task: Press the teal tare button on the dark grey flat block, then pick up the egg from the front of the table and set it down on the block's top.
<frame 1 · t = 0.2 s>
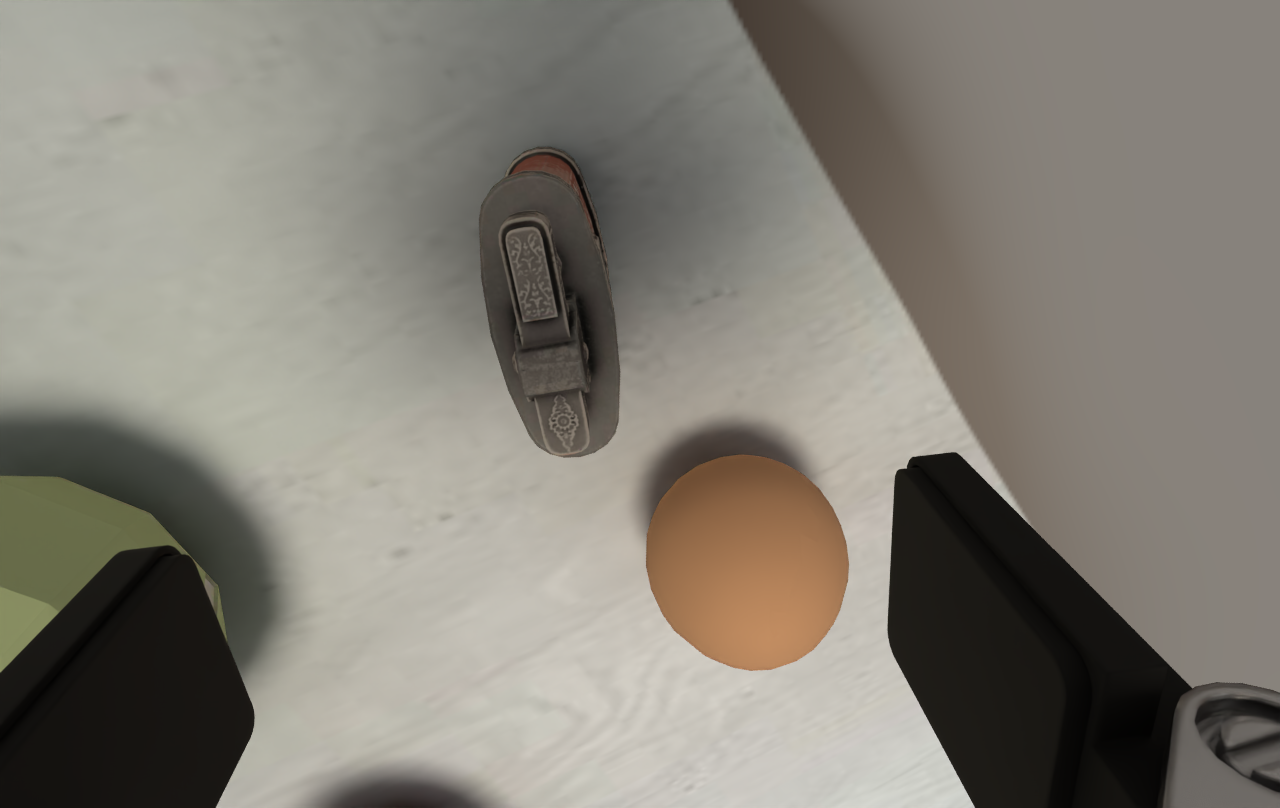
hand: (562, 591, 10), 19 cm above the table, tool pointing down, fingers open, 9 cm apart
decorative sphere: (101, 568, 31), on the table
lighter: (560, 262, 27), on the table
egg: (725, 497, 32), on the table
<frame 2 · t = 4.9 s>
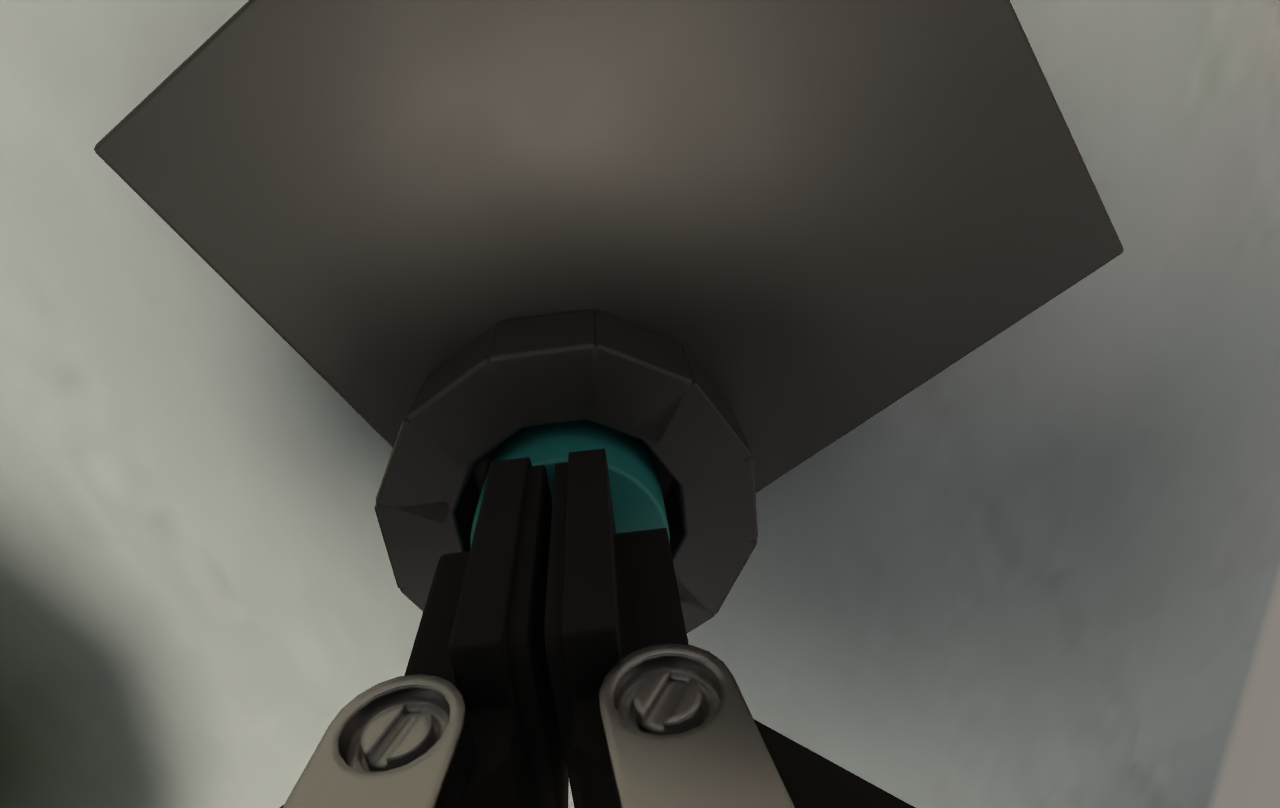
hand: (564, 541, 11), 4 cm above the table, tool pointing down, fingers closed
dark grey flat block: (639, 193, 13), on the table
tare button: (571, 516, 12), point 3 cm above the table, slide at -0.6 cm, touching gripper
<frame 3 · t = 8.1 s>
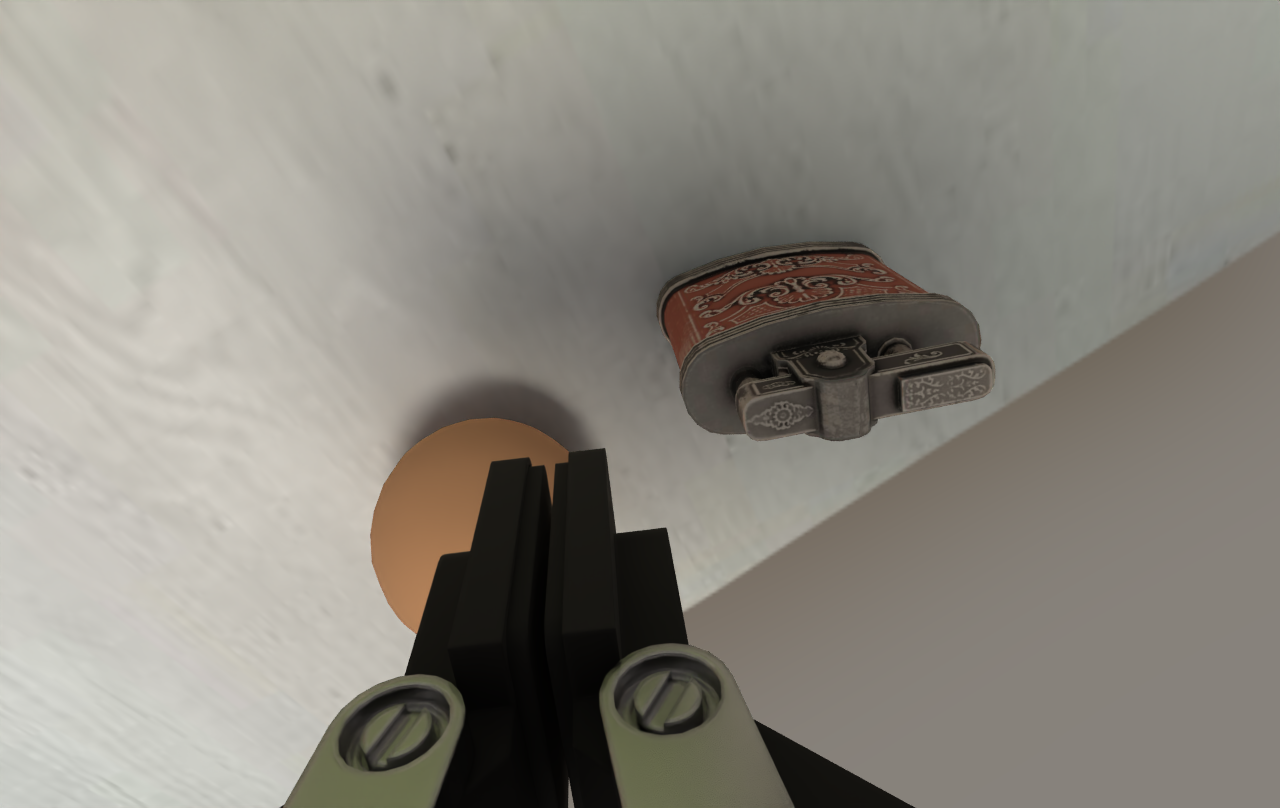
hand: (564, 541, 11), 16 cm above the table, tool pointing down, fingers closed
lighter: (766, 292, 27), on the table
egg: (500, 469, 29), on the table
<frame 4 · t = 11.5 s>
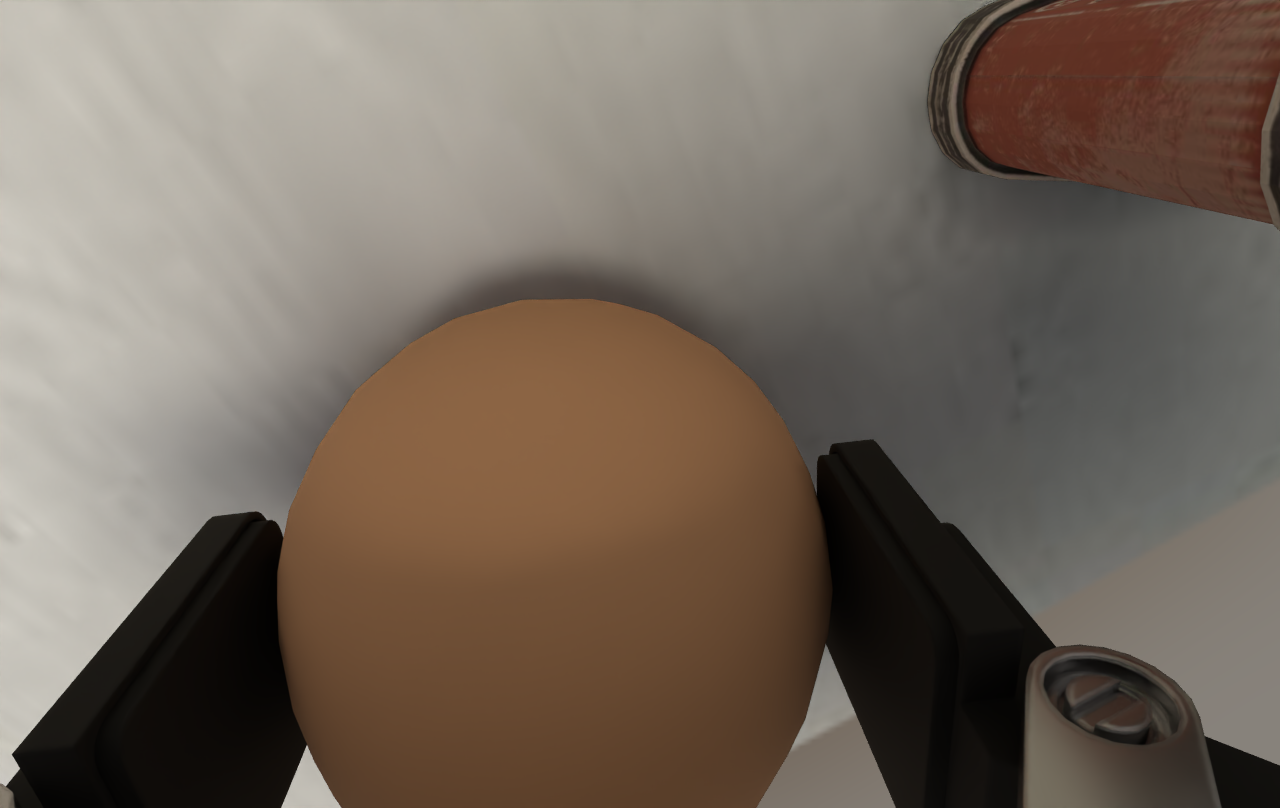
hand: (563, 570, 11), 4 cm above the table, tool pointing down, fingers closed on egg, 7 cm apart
lighter: (1158, 61, 13), on the table
egg: (568, 432, 15), on the table, touching gripper
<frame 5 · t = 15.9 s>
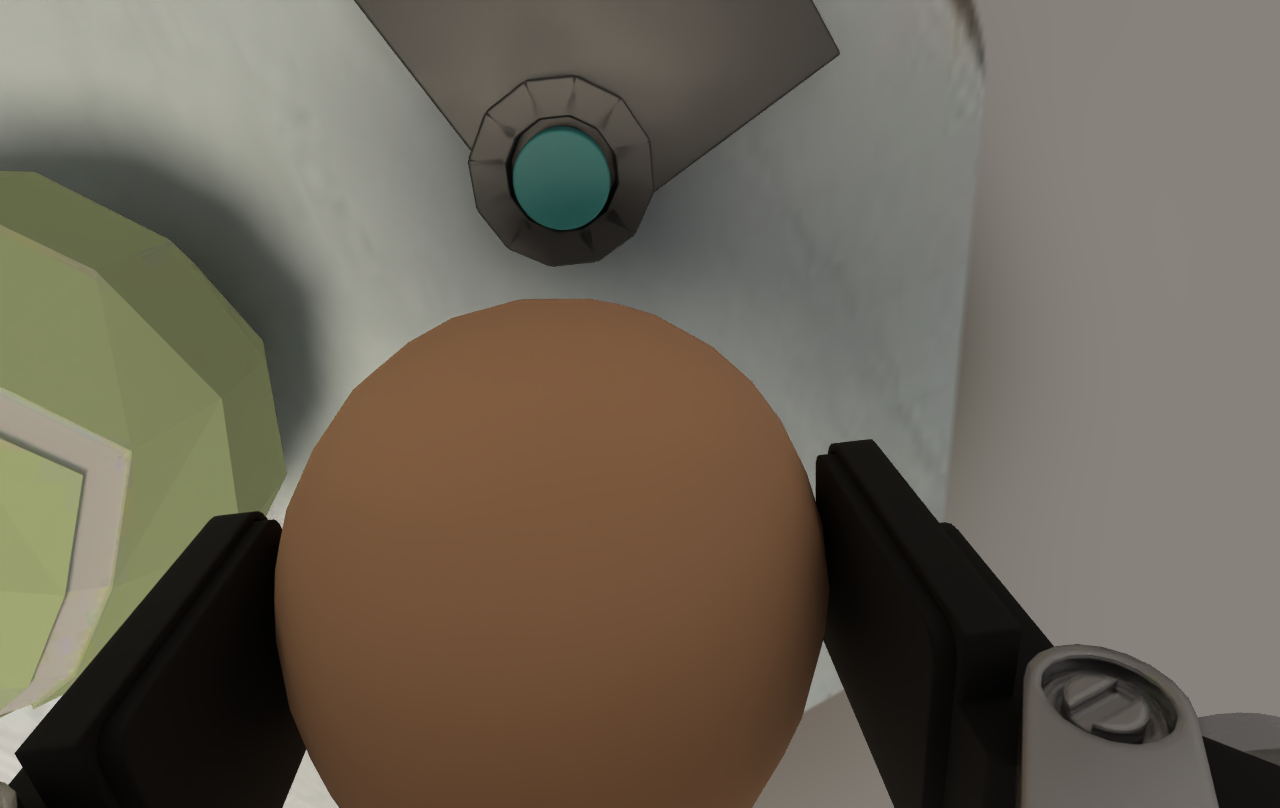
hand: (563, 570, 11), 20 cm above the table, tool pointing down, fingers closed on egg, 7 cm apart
dark grey flat block: (599, 21, 25), on the table
decorative sphere: (132, 352, 29), on the table
egg: (566, 432, 15), point 15 cm above the table, touching gripper
tare button: (562, 177, 24), point 3 cm above the table, slide at 0.1 cm
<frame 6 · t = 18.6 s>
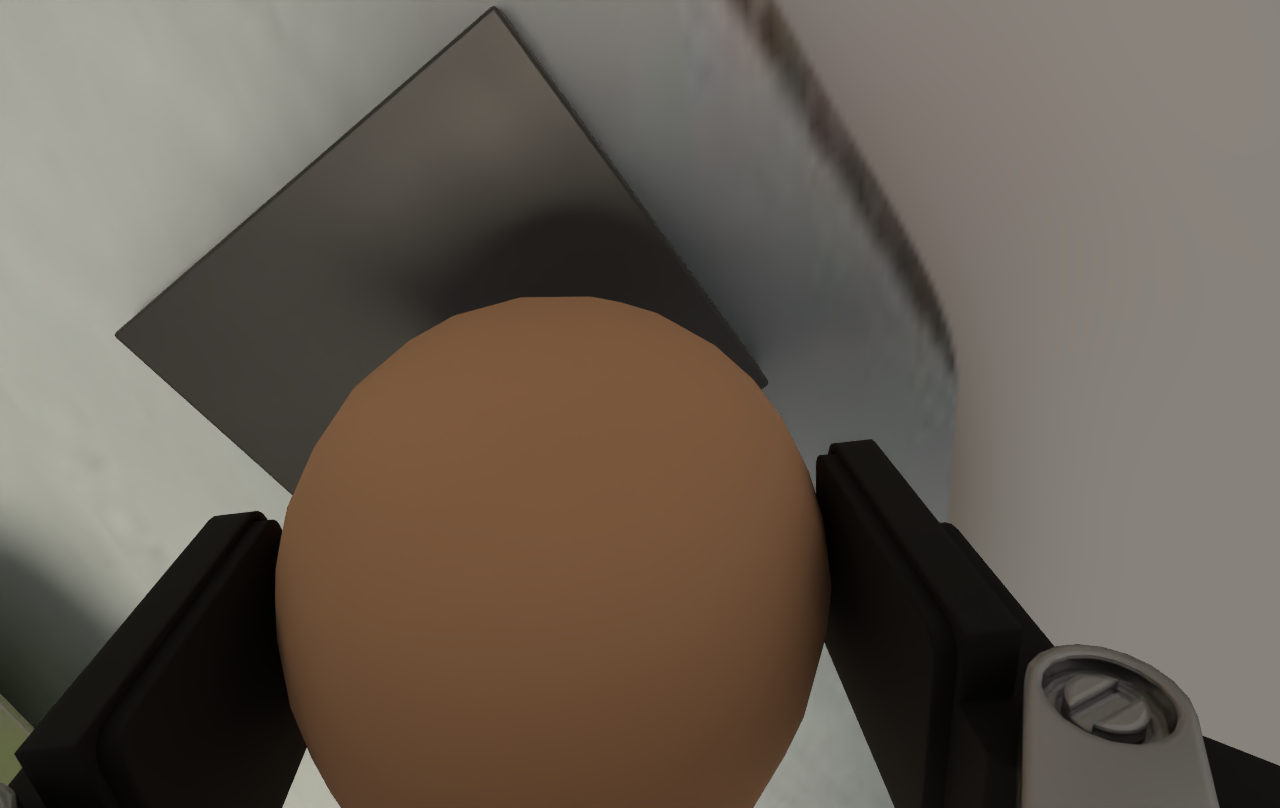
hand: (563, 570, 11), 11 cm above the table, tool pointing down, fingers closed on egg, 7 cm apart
dark grey flat block: (462, 345, 20), on the table
egg: (567, 431, 15), point 6 cm above the table, touching gripper
when the fingers open (6 cm above the table, at t = 20.5 s): egg stays where it is, resting on dark grey flat block.
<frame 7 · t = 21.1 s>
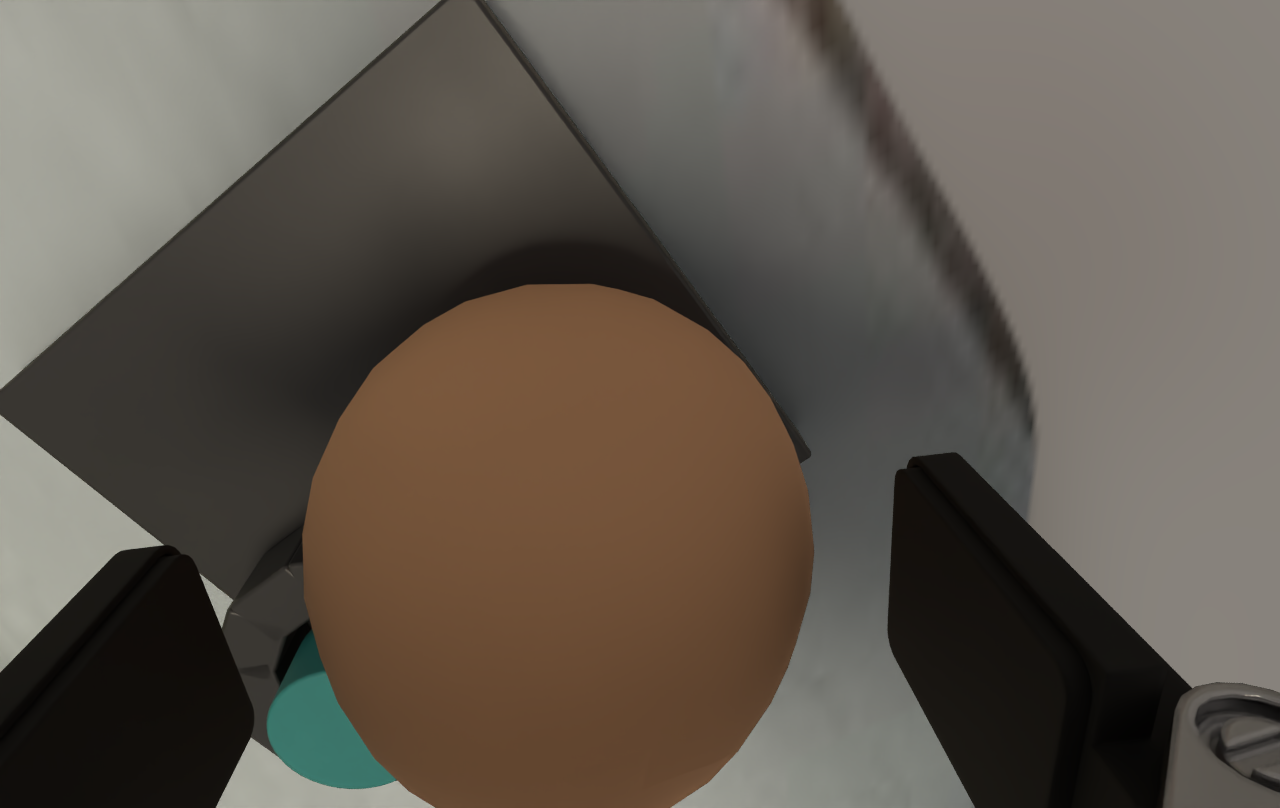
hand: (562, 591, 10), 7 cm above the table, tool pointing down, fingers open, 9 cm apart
dark grey flat block: (433, 407, 16), on the table
egg: (569, 414, 15), point 1 cm above the table, touching dark grey flat block
tare button: (361, 697, 15), point 3 cm above the table, slide at 0.1 cm
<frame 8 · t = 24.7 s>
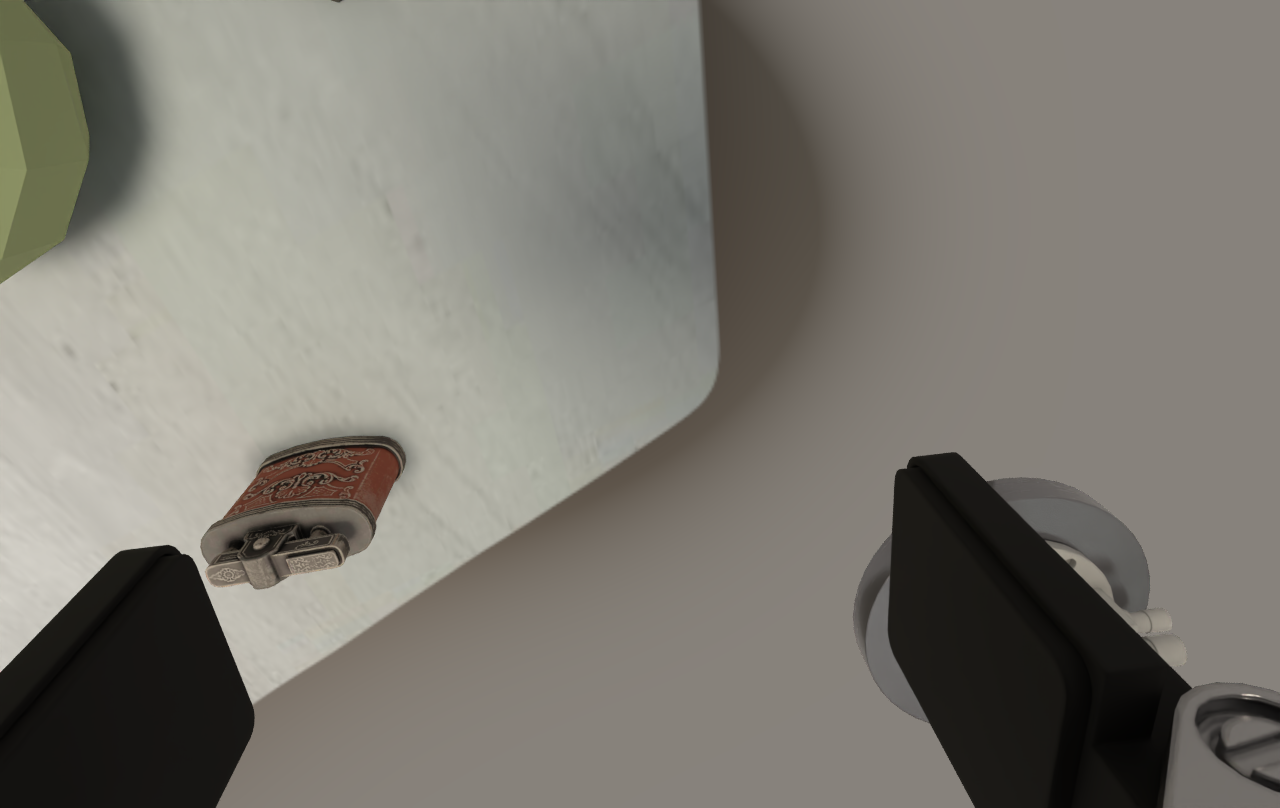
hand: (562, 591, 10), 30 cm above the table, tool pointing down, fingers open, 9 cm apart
lighter: (335, 464, 43), on the table
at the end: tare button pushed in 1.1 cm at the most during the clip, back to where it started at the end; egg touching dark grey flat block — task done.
